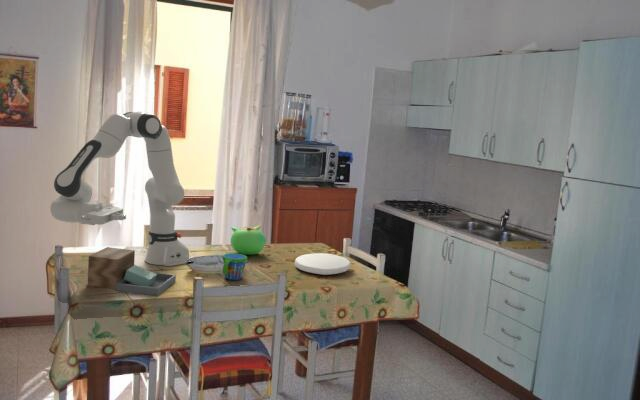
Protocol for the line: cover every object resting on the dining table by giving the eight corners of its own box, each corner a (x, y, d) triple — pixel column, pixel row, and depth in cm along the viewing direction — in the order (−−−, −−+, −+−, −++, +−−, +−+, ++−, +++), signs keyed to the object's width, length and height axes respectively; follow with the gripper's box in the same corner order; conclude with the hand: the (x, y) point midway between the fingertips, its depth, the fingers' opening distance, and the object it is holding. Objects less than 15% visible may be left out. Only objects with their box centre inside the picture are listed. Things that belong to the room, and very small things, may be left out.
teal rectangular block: (126, 270, 240) (149, 279, 239) (134, 265, 248) (157, 274, 247) (123, 279, 241) (146, 288, 240) (131, 273, 248) (154, 283, 248)
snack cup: (234, 272, 276) (235, 250, 274) (253, 277, 271) (255, 255, 269) (212, 279, 262) (214, 256, 260) (232, 284, 257) (233, 261, 255)
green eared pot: (231, 257, 301) (233, 228, 299) (228, 249, 317) (230, 221, 315) (266, 258, 305) (269, 230, 303) (262, 250, 321) (264, 223, 319)
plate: (328, 271, 276) (283, 258, 291) (328, 284, 277) (283, 271, 292) (361, 255, 298) (317, 245, 313) (360, 268, 300) (317, 257, 315)
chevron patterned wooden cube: (87, 285, 238) (88, 256, 237) (106, 274, 254) (107, 247, 252) (116, 289, 237) (118, 259, 235) (133, 278, 253) (134, 250, 251)
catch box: (115, 290, 235) (115, 283, 235) (136, 277, 255) (136, 270, 255) (157, 296, 234) (158, 288, 233) (175, 281, 253) (175, 275, 253)
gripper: (78, 209, 232) (113, 214, 230) (103, 202, 252) (135, 206, 251) (78, 226, 232) (112, 230, 231) (102, 217, 253) (134, 221, 251)
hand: (124, 217), depth 241 cm, fingers closed
